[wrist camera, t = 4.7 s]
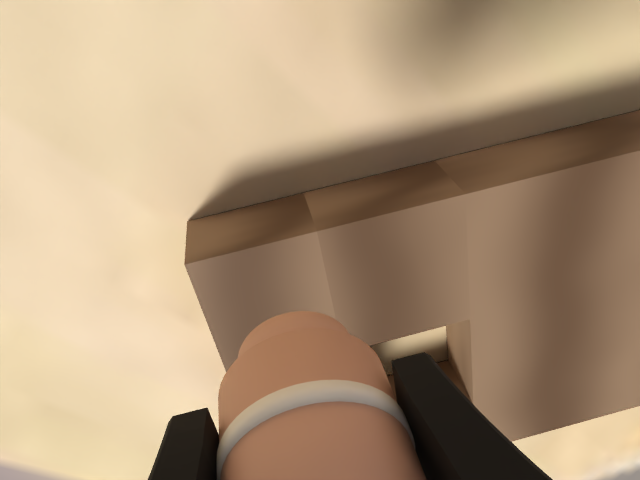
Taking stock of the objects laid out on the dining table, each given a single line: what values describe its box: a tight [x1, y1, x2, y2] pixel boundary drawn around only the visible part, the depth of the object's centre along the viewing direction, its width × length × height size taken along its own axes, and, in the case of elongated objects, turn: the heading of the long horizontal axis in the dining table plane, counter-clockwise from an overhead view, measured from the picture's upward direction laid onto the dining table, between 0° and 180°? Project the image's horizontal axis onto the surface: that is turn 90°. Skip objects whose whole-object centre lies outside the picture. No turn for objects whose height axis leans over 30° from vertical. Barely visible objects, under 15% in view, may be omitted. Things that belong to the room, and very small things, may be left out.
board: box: [185, 110, 640, 442], centre depth 20 cm, size 16×12×2 cm
